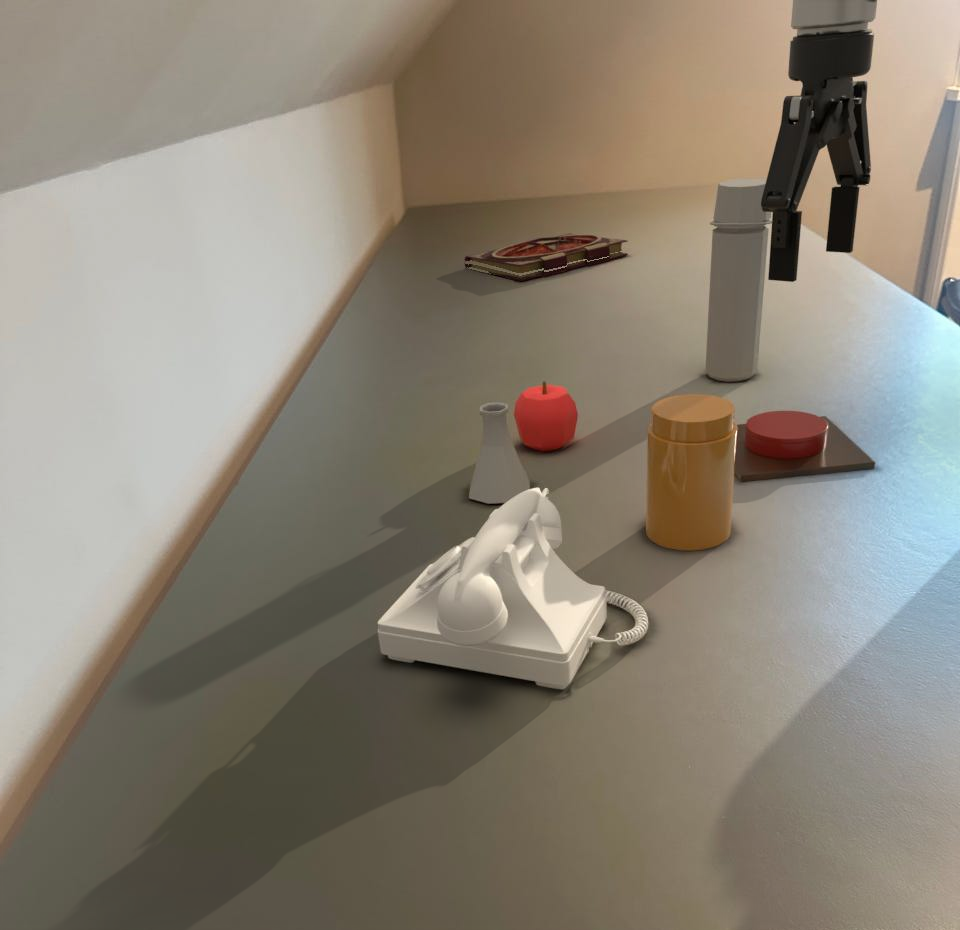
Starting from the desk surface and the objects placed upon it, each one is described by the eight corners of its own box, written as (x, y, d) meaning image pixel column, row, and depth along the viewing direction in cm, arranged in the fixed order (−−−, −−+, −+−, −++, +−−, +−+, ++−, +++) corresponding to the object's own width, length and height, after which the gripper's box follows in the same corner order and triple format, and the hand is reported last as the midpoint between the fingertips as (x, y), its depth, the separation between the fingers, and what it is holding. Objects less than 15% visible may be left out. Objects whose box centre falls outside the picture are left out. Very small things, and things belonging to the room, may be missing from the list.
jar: (717, 509, 102) (725, 389, 95) (740, 546, 95) (750, 418, 88) (638, 517, 102) (639, 397, 95) (655, 554, 95) (658, 427, 88)
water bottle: (756, 384, 133) (773, 186, 120) (698, 382, 136) (708, 188, 122) (763, 364, 141) (778, 174, 127) (707, 362, 143) (717, 176, 130)
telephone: (473, 548, 99) (463, 431, 92) (676, 574, 91) (681, 449, 84) (355, 686, 80) (330, 552, 73) (599, 733, 72) (597, 588, 65)
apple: (538, 462, 116) (535, 397, 112) (502, 443, 122) (498, 381, 118) (591, 445, 120) (591, 381, 115) (554, 427, 125) (551, 366, 121)
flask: (520, 508, 106) (514, 420, 100) (458, 503, 108) (450, 417, 103) (539, 481, 112) (535, 397, 106) (481, 477, 114) (474, 394, 108)
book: (568, 248, 222) (567, 224, 219) (630, 257, 206) (630, 232, 204) (465, 271, 209) (463, 247, 207) (523, 283, 194) (521, 257, 191)
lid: (729, 449, 113) (730, 429, 112) (766, 424, 119) (768, 405, 118) (803, 465, 108) (806, 444, 107) (839, 438, 113) (841, 418, 112)
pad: (824, 421, 120) (825, 415, 120) (874, 468, 108) (875, 462, 107) (705, 433, 120) (705, 427, 120) (740, 482, 107) (741, 475, 107)
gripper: (812, 37, 82) (791, 296, 93) (922, 17, 97) (893, 242, 108) (731, 43, 86) (721, 290, 98) (849, 23, 101) (828, 239, 113)
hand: (811, 265), depth 103 cm, fingers open, 13 cm apart
